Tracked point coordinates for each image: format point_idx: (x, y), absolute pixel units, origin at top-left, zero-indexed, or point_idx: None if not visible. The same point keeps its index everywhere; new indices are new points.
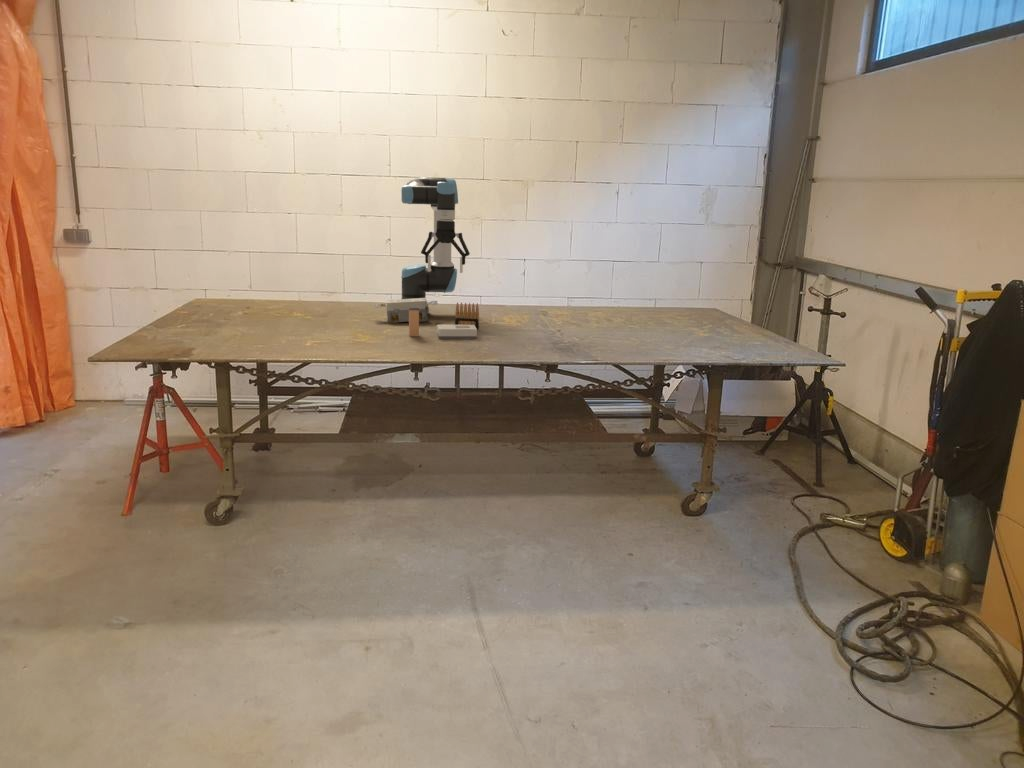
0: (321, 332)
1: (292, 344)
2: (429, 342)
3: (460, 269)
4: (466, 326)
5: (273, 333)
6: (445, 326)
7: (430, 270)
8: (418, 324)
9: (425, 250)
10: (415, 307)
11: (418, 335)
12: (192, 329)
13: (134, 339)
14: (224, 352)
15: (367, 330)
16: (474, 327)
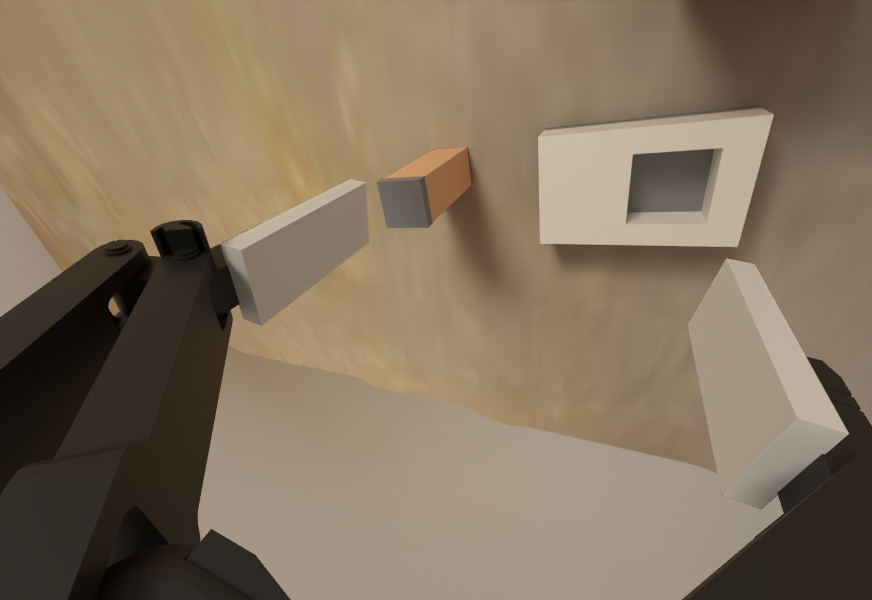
0: (199, 145)
1: None
2: (511, 284)
3: (699, 353)
4: (705, 147)
5: (131, 170)
6: (576, 183)
7: (363, 192)
8: (454, 200)
9: (123, 285)
10: (410, 212)
11: (469, 185)
12: (7, 138)
13: (38, 234)
14: None
15: (286, 90)
16: (741, 200)
